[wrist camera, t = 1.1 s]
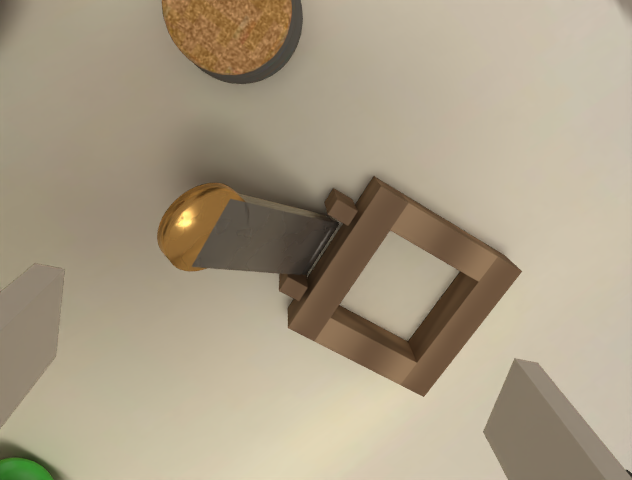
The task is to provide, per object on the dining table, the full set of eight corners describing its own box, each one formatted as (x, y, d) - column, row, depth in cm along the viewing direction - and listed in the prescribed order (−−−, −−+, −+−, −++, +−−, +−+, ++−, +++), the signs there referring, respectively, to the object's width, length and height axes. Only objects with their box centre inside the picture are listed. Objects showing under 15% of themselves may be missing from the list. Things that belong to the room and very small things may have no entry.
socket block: (265, 296, 39) (263, 315, 36) (350, 161, 36) (355, 170, 33) (414, 374, 42) (423, 396, 39) (505, 255, 39) (522, 271, 36)
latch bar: (141, 256, 26) (150, 268, 26) (185, 173, 25) (196, 184, 25) (298, 270, 37) (306, 278, 37) (334, 213, 36) (344, 221, 36)
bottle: (260, -45, 32) (240, -125, 17) (316, 39, 33) (338, 28, 19) (186, 15, 32) (109, -15, 18) (244, 94, 34) (214, 122, 20)
